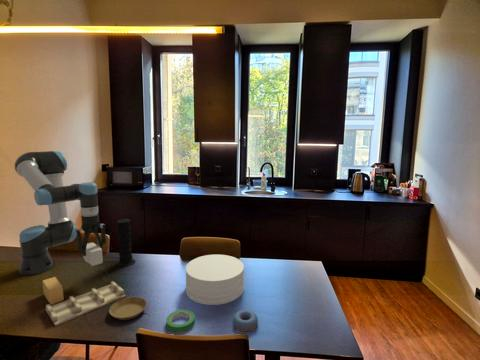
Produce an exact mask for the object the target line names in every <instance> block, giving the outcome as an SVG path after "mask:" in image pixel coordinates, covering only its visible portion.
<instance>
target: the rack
mask: <svg viewBox="0 0 480 360" xmlns="http://www.w3.org/2000/svg"><path fill="white" fill-rule="evenodd" d="M125 298H127V297H126V294H125V290H124V289H123V288H122V287H121V286H120V285H119V284H118V283H116V282H115V281H114V280H112V281H110V284H107V285H104V286H102V287H99V288H97V289H96V287H93V288H91V291H88V292H86V293H83V294H80V295H77V296H75V297H74V296H73V295H71V296H69V297H68V299H67V300H63V301H60V302H57V303H55V304H52V305H51V304H50V303H48V304H46V305H45V311H46V313H47V314H48V316H49V318H50V319H51V322H52V323H53V325H54V327H56V326H59V325H61V324H64V323H67V322H69V321H71V320H73V319H77V318H78V317H80V316H83V315H86V314H88V313H90V312H93V311H95V310H97V309H100V308H102V307H105V306H107V305H108V306H109V305H111V304H112V303H113V304H114V303H116V302H117V301H119V300H122V299H125Z"/></svg>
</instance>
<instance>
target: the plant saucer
mask: <svg viewBox="0 0 480 360" xmlns="http://www.w3.org/2000/svg"><path fill="white" fill-rule="evenodd" d="M147 305H148V303H147V300H145V298H142V297H139V296H131V297H125V298H122V299H120V300H117V301H115V302H113V304H112V305H110V307H109V310H108V311H109V312H108V313H109V315H110V316H112V317H113V318H115V319H117V320H120V321H122V320H123V321H127V320H131V319H134V318H136V317H138V316H139V315H141V314H142V313H143V312H144V311H145V309H146V307H147Z"/></svg>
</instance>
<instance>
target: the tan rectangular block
mask: <svg viewBox="0 0 480 360" xmlns="http://www.w3.org/2000/svg"><path fill="white" fill-rule="evenodd" d="M42 288H43V290H42V291H43V295H44V297H45V298H46V300H47V301H48V304H50V306H52V305H55V304H58V303H60V302H63V301H65V300H64V297H65V296H64V289H63V285H62V284H61V282H60V281H59V280H58V279H57V277H56V276H53V277H51V278H50V277H49V278H47V279H43V280H42Z"/></svg>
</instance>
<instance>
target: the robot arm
mask: <svg viewBox="0 0 480 360" xmlns="http://www.w3.org/2000/svg"><path fill="white" fill-rule="evenodd" d="M14 169H15V172H16V173H17V175H19V176H20V177H23V178H24V180H26V182H27V184H29V186H30V187H31V189H32V190H34V194H33V197H34V201H35V204H36V205H37V206H40V207H41V206H47V207H48V213H49V220H48V222H47V226H45V225H42V224H41V225H40V224H39V225H34V226H33V225H32V226H29V227H26V228H24V229H23V230H21V231H20V233H19V239H18V242H19V246H20V254H21V261H20V263H19V267H18V272H19V275H21V276H32V275H37V274H41V273H44V272H46V271H49V270H50V269H51V268H52V267H53V266H54V265H53V264H54V263H53V260H52V258H51V256H50V254H49V253H48V252H49V250H48V249H49V248H51V247H52V248H53V247H57V246H60V245H64V244H68V243H71V242H73V241H74V240H75V239H76V244H77V245H76V246H77V249H78V250H80V251H82V257H83V256H85V259H84V261H85V262H86V263H88V262H89V260H88V249H87V248H86V247H87V244H88V243H89V242H88V241H89V237H90V235H91V234H93V235H94V237H95V239H96V242H97V244H96V245H97V246H98V247H100V248H101V249H102V250H103V245H104V244H106V242H107V237H106V224H105V223H100V214H99V198H98V185H97V184H96V183H95V182H91V181H90V182H88V181H87V182H82V183H72V184H70V185H65V186H64V183H63V178H62V177H63V176H64V175H65V171H67V169H68V162H67V159H66V156H65V155H64V153H62V152H61V151H58V150H57V151H54V150H49V151H47V150H46V151H29V152H26V153H23V154H21V155H20V156H18V158H17V159H16V160H15V163H14ZM72 201H73V202H74V201H79V203H80V215H81V216H80V218H81V226H80V227H79V228H77V224H76V223H75V222H74V221H73V220H72V219H71V218H70V217H69V216H68V212H67V211H68V210H67V204H66V203H67V202H72ZM99 228H100V235H99ZM82 231H83V232H84V233H83V240H82Z"/></svg>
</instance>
